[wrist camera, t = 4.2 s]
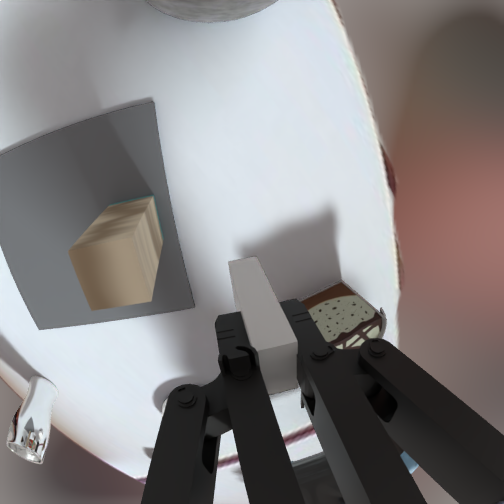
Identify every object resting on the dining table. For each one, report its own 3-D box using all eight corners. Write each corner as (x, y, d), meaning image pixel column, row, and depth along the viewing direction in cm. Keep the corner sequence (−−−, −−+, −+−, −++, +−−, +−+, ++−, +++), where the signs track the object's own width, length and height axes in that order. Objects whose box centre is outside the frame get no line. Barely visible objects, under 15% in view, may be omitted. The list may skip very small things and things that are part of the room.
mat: (154, 102, 25) (153, 101, 24) (194, 305, 35) (194, 307, 35) (-19, 166, 21) (-21, 166, 21) (40, 327, 32) (39, 329, 31)
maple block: (154, 194, 28) (131, 237, 17) (163, 238, 30) (151, 301, 20) (109, 204, 27) (67, 251, 17) (121, 247, 30) (91, 310, 19)
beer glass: (24, 369, 34) (-2, 435, 21) (57, 379, 36) (36, 451, 23) (33, 392, 37) (13, 455, 23) (64, 402, 39) (49, 468, 25)
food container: (282, 342, 41) (304, 394, 32) (269, 313, 38) (291, 367, 29) (357, 306, 41) (391, 349, 32) (351, 275, 38) (390, 317, 29)
